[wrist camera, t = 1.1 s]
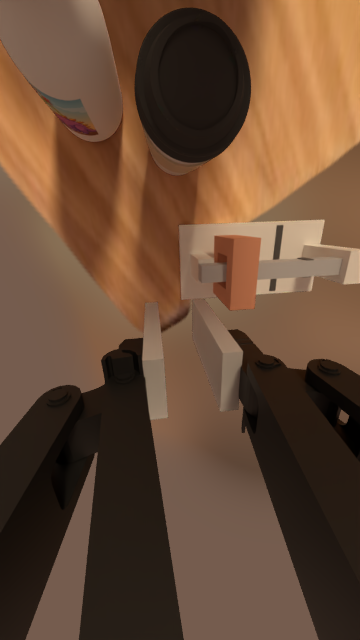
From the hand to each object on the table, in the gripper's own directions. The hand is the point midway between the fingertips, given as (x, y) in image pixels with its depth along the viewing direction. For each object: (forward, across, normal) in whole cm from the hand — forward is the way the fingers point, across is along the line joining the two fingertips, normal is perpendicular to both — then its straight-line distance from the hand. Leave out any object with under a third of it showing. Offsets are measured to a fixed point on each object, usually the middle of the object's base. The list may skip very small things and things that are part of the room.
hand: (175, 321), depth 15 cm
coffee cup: (+23, +3, +15) cm, 27 cm away
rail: (+22, +14, 0) cm, 26 cm away
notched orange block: (+15, +9, 0) cm, 18 cm away
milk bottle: (+23, -7, +19) cm, 30 cm away
